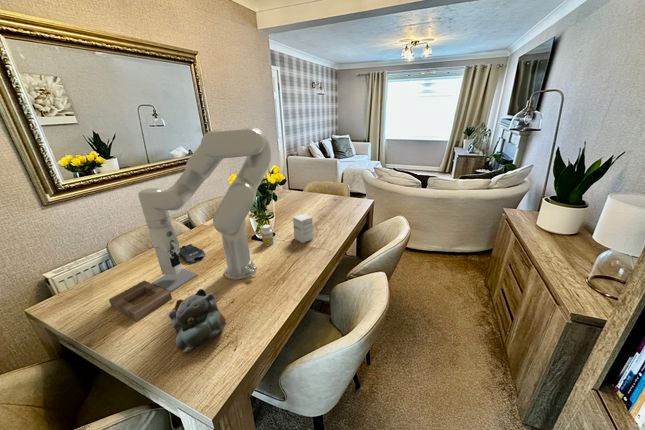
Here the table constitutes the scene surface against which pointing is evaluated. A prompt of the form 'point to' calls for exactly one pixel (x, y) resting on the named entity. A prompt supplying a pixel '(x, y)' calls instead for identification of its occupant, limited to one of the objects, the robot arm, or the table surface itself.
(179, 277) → the grey rubber mat
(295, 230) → the supplement box
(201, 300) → the lucky cat figurine
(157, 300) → the walnut socket block
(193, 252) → the electronic device
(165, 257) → the skincare box
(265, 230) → the supplement bottle
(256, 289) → the table surface
